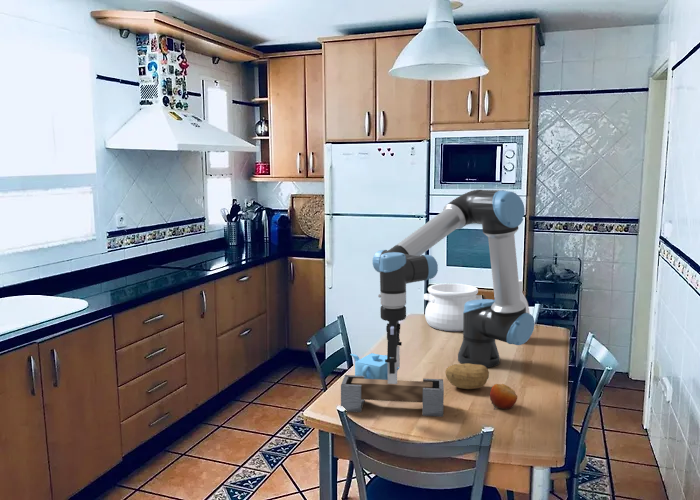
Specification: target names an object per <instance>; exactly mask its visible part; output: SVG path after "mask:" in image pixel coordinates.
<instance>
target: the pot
mask: <svg viewBox="0 0 700 500" xmlns="http://www.w3.org/2000/svg"><path fill="white" fill-rule="evenodd" d="M427 291H428V293H424V294H423V300H425V301H428V302H427V305H426V308H425V310H424V314H425V315H424V316H425V321H426V322H427V324H428V325H429V327H432V328H433V329H436V330H438V329H439V331H443V330H444V332H463V312H464V305H465V303H466V302H468V301H471V300H479V299H483V296H482V295H481V294H479V289H478V288H477V286H474V285H470V284H465V283H452V282H451V283H450V282H449V283H448V282H447V283H444V282H443V283H437V284H432V285H429V286H428V287H427Z"/></svg>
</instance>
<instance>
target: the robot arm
mask: <svg viewBox="0 0 700 500" xmlns="http://www.w3.org/2000/svg"><path fill="white" fill-rule="evenodd" d="M525 210H526V208H525V205H524V202H523V200H522V197H521V196H519V195H518V194H517V193H516V192H515V191H508V190H504V189H497V190H495V189H474V190H470V191H468V192H467V191H466V192H465V193H463V194H461V195H459V196H457V197H456V198H454V199H452V200H451V201H450V202H449V203H447V204H445V205H444V206H443V209H442V210H441V212H440V213H438V214H436V215H435V216H434V217H433V218H431V219H430V220H428V221H427V222H426V223H424V224H423V225H422V226H420V227H419V228H417V229H416V230H414V232H412V233H410V234H409V235H408V236H407V237H405V238H403V239H402V240H400V241H399V242H398V243H397V244H395V245H394V246H393V247H391V248H390V249H388V250H387V249H381V250H378V251H376V252H375V253H374V255H373V258H372V267H373V269H374V270H375V271H376V272H377V273H379V289H380V294H378V298H380V305H381V306H380V307H379V308H380V312H379V313H380V319H381V320H383V321H387V322H388V323H387V324H386V328H385V330H386V340H387V348H386V349H387V351H386V352H387V354H386V355H387V360H386V359H385V362H387V369H388V384H397V380H398V370H397V367H399V368H401V367H400V359H401V358H400V357H401V356H400V352H401V351H400V350H401V349H400V346H401V347H402V343H403V342H402V341H401V340H400V334H401V323H399V321H400V322H401V321H404V320H405V319H406V318H407V306H406V305H407V284H411V283H416V282H426V281H428V280H431V279H433V278H435V277H436V276H437V274H438V271H439V270H438V269H439V267H438V265H439V263H438V262H437V259H435V257H434V256H432V255H430V254H425V253H426V252H427V251H428V250H430V249H431V248H432V247H434V246H436V244H438V243H440V242H441V241H442V240H443V239H445V238H446V237H447V236H448V235H450V234H451V233H452V232H454V231H455V230H460V229H464V227H465V226H468V225H472V224H478V225H481V227H482V233H483V234H484V235H485V236H486V237H487V239H488V246H489V247H488V250H489V258H490V266H491V267H490V268H491V269H490V270H491V277H492V278H491V279H492V287H493V288H492V289H493V295H494V299H490V298H487V299H485V298H482V299H479V300H471V301H468V302H466V303H465V305H464V312H463V331H462V334H463V338H462V342H461V344H460V347H459V351H458V354H457V360H458V363H459V364H466V363H469V364H477V365H483V366H485V367H486V368H493V367H496V366H498V365H499V364H500V353H499V350H498V347H497V343H496V340H497V341H500V342H504V343H507V344H508V345H515V346H522V345H524V344H525V343H526V342H528V341H529V339H530V338H531V337H532V335H533V332H534V329H535V318H534V316H533V315H532V314H530V312H529V313H526V305H525V303H524V302H522V301H521V300H520V290H519V280H520V279H519V271H518V260H517V259H518V258H517V252H516V251H517V249H516V240H515V239H516V238H515V234H516V233H517V232H518V231H519V226H520V225H521V224H522V223H523V220H524V217H525ZM518 279H519V280H518ZM390 357H391V358H390Z"/></svg>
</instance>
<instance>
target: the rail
mask: <svg viewBox="0 0 700 500" xmlns="http://www.w3.org/2000/svg"><path fill="white" fill-rule="evenodd" d="M351 384H352V385H362V400H364V401H365V400H366V401H381V402H382V401H384V402H400V403H401V402H406V403H422V404H423V388H432V387H433V382H423V380H421V381H419V380H401V379H400V380H399V379H397V384H388V380H380V379H359V378H353V380H352V382H351Z"/></svg>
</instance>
